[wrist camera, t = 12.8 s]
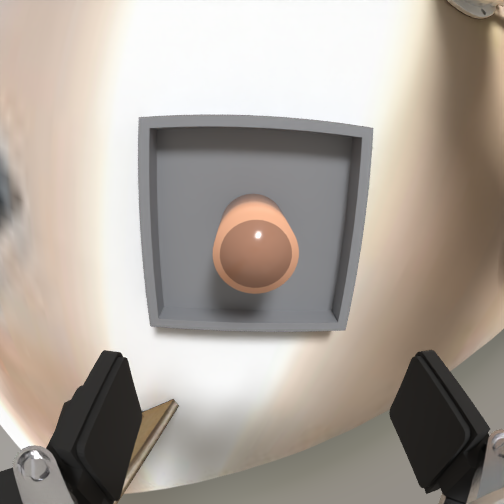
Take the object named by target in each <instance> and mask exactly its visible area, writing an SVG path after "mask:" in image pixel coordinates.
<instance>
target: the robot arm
mask: <svg viewBox="0 0 504 504" xmlns="http://www.w3.org/2000/svg"><path fill="white" fill-rule="evenodd" d="M447 1H448V2H449V3H450V4H451V5H453V6H454V7H455V8H457V9H458V10H459V11H461V12H463V13H464V14H466V15H468V16H471V17H473V18H478V19H484V18H487V17H490V16H491V15H493V13H494V11H495V8H496V5H500V6H504V0H447ZM390 418H391V420H392V423H393V425H394V427H395V429H396V431H397V434H398V436H399V438H400V440H401V443H402V445H403V447H404V450H405V452H406V454H407V456H408V459H409V461H410V464H411V466H412V468H413V471H414V473H415V475H416V478H417V480H418V483H419V485H420V486H421V487H422V488H424V489H425V491H426V494H427V493H430V492H432V491H435V490H438V489H439V488H441V491H442V495H441V498H440V501H439V503H438V504H504V430H496V431H494V432H493V433H492V434H491V435H490V436H489V434H488V431H489V430H490V428H489V426H488V425H487V423H486V422H485V420H484V419H483V417H482V416H481V414H480V413H479V411H478V410H477V408H476V407H475V405H474V404H473V403H472V401H471V400H470V398H469V397H468V396H467V394H466V393H465V391H464V390H463V389H462V387H461V386H460V385H459V383H458V382H457V380H456V379H455V378H454V376H453V375H452V374H451V372H450V371H449V370H448V368H447V367H446V366H445V364H444V363H443V362H442V360H441V359H440V358H439V356H438V355H437V354H436V352H434V351H433V350H429V351H421V352H418V353H417V354H416V355H415V357H413V358H412V359H411V362H410V364H409V367H408V369H407V372H406V374H405V377H404V379H403V381H402V384H401V386H400V388H399V391H398V393H397V395H396V397H395V400H394V402H393V404H392V406H391V408H390ZM141 422H142V411H141V408H140V404H139V401H138V397H137V394H136V390H135V386H134V383H133V379H132V375H131V371H130V367H129V363H128V360H127V358H125V357H123V356H122V354H121V353H120V352H113V351H106V350H104V351H103V352H102V353H101V355H100V356H99V358H98V360H97V362H96V363H95V365H94V367H93V369H92V370H91V372H90V374H89V376H88V378H87V379H86V381H85V383H84V385H83V386H80V387H79V388H78V389H77V390H76V392H75V394H74V396H73V398H72V399H71V401H70V403H69V405H68V407H67V409H66V411H65V412H64V414H63V416H62V418H61V420H60V422H59V424H58V426H57V428H56V430H55V432H54V434H53V436H52V438H51V440H50V442H49V444H48V446H47V448H46V449H45V448H43V447H41V446H28V447H26V448H24V449H22V450H21V451H20V452H18V453H17V455H16V457H15V458H14V462H13V468H11V469H7V470H4V471H1V472H0V504H114V501H119V499H120V497H121V493H122V489H123V486H124V482H125V478H126V474H127V471H128V467H129V463H130V460H131V456H132V453H133V449H134V446H135V442H136V439H137V436H138V432H139V429H140V425H141Z"/></svg>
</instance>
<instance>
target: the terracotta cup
mask: <svg viewBox="0 0 504 504" xmlns="http://www.w3.org/2000/svg"><path fill="white" fill-rule="evenodd" d="M298 258H299V247H298V242H297V239H296V237H295V235H294V233H293V231H292V229H291V227H290V226H289V224H288V222H287V220H286V218H285V217H284V215H283V213H282V211H281V209H280V208H279V206H278V205H277V204H276V203H275V202H274V201H273V200H271V199H270V198H268V197H266V196H263V195H260V194H245V195H242V196H240V197H237V198H236V199H234V200H233V201H232V202H230V203H229V204H228V206H227V207H226V208H225V210H224V212H223V214H222V217H221V221H220V224H219V228H218V231H217V234H216V238H215V241H214V246H213V262H214V265H215V268H216V270H217V272H218V274H219V275H220V277H221V278H222V279H223V280H224V281H225V282H226V283H227V284H228V285H229V286H231V287H232V288H234V289H236V290H238V291H241V292H245V293H252V294H259V293H265V292H269V291H272V290H274V289H276V288H278V287H280V286H281V285H283V284H284V283H285V282H286V281H287V280H288V279H289V278H290V277H291V275H292V274H293V272H294V270H295V268H296V266H297V263H298Z"/></svg>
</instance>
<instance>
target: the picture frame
mask: <svg viewBox="0 0 504 504" xmlns="http://www.w3.org/2000/svg"><path fill="white" fill-rule="evenodd" d="M70 401H71V400H69V401H68V402H66V403H64V405H63V408H62V411H61V414H60V417H59V420H58V423H57V426H58V424H59V422H60V420H61V418H62V416H63V414H64V412H65V411H66V409H67V407H68V405H69V403H70ZM178 406H179V405H178V404H177V403H176V402H175V401H174V399H172V400H170V401H168V402H165V403H163V404H161V405H158V406H156V407H154V408H151V409H149V410H146V411H144V412H142V422H141V425H140V429H139V432H138V436H137V439H136V442H135V446H134V449H133V453H132V456H131V460H130V463H129V467H128V471H127V474H126V478H125V482H124V486H123V489H122V493H121V496H122V495H123V494H124V492H125V491H126V489H127V487H128V486H129V484H130V483H131V481H132V480H133V478H134V476H135V475H136V473H137V472H138V470H139V469H140V467H141V465H142V464H143V462H144V461H145V459H146V458H147V456H148V454H149V453H150V451H151V450H152V448H153V446H154V445H155V443H156V442H157V440H158V438H159V437H160V435H161V434H162V432H163V430H164V429H165V427H166V426H167V424H168V422H169V421H170V419H171V418H172V416H173V414H174V413H175V411H176V410H177V408H178ZM57 426H56V428H57ZM55 430H56V429H55ZM120 498H121V497H120ZM119 500H120V499H119ZM117 503H118V501H114V504H117Z"/></svg>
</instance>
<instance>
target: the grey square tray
mask: <svg viewBox="0 0 504 504" xmlns="http://www.w3.org/2000/svg"><path fill="white" fill-rule="evenodd" d="M372 141H373V128H370V127H364V126H357V125H351V124H343V123H336V122H328V121H319V120H309V119H299V118H287V117H272V116H253V115H172V116H153V117H139V130H138V184H139V212H140V230H141V245H142V257H143V269H144V279H145V288H146V297H147V305H148V313H149V320H150V326H153V327H166V328H181V329H199V330H223V331H269V332H295V331H340V330H346V325H347V321H348V316H349V311H350V306H351V301H352V296H353V291H354V286H355V280H356V275H357V269H358V263H359V257H360V251H361V244H362V237H363V230H364V223H365V215H366V207H367V198H368V189H369V179H370V168H371V155H372ZM245 194H260V195H263V196H266V197H268V198H270V199H271V200H273V201H274V202H275V203H276V204H277V205H278V206H279V208H280V209H281V211H282V213H283V215H284V217H285V218H286V220H287V222H288V224H289V226H290V227H291V229H292V231H293V233H294V235H295V237H296V239H297V242H298V247H299V258H298V263H297V266H296V268H295V270H294V272H293V274H292V275H291V277H290V278H289V279H288V280H287V281H286V282H285V283H284V284H283V285H281V286H280V287H278V288H276V289H274V290H272V291H269V292H265V293H259V294H252V293H245V292H241V291H238V290H236V289H234V288H232V287H231V286H229V285H228V284H227V283H226V282H225V281H224V280H223V279H222V278H221V277H220V275H219V274H218V272H217V270H216V268H215V265H214V262H213V246H214V241H215V238H216V234H217V231H218V228H219V224H220V221H221V217H222V214H223V212H224V210H225V208H226V207H227V206H228V204H229V203H230V202H232V201H233V200H234V199H236V198H237V197H240V196H242V195H245Z"/></svg>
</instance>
